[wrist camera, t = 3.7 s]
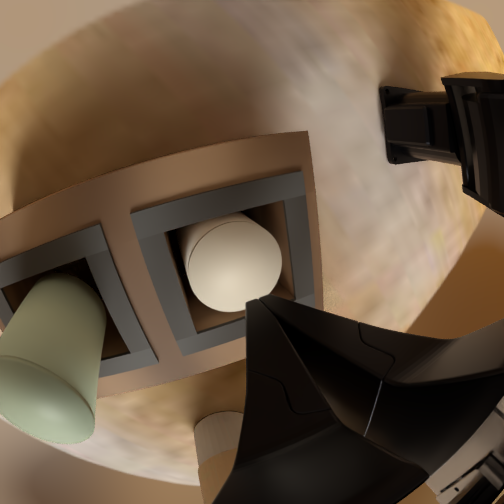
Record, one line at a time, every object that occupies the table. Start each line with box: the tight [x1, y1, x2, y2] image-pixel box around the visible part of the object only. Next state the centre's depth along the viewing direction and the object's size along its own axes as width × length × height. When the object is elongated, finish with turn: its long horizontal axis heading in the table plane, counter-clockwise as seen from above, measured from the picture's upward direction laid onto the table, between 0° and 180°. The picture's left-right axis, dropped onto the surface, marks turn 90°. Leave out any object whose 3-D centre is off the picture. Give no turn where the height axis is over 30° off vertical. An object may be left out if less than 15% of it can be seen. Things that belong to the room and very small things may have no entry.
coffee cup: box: [194, 411, 243, 504], centre depth 17 cm, size 9×9×15 cm
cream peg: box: [177, 211, 282, 312], centre depth 14 cm, size 4×4×6 cm
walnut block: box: [0, 131, 324, 399], centre depth 13 cm, size 16×10×6 cm, turn 100°
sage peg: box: [0, 273, 107, 444], centre depth 8 cm, size 4×4×6 cm
